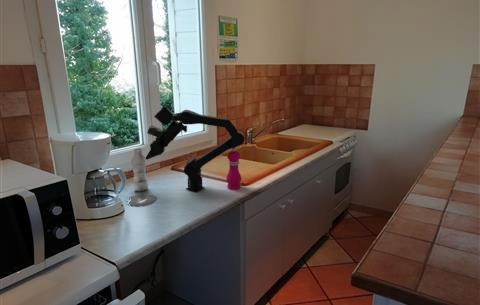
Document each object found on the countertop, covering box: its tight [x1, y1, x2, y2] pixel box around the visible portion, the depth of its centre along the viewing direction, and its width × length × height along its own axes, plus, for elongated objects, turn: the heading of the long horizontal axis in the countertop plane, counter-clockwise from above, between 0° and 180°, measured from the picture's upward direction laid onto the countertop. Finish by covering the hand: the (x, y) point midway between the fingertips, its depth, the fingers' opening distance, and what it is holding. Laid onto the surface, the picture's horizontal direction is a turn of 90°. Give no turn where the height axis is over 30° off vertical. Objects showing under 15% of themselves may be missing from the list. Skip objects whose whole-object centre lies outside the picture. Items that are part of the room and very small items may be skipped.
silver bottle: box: [130, 147, 149, 192], centre depth 148 cm, size 6×7×20 cm
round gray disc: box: [127, 193, 158, 208], centre depth 140 cm, size 13×13×1 cm
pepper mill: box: [225, 147, 242, 191], centre depth 152 cm, size 7×7×20 cm
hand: (148, 155), depth 146 cm, fingers open, 9 cm apart
